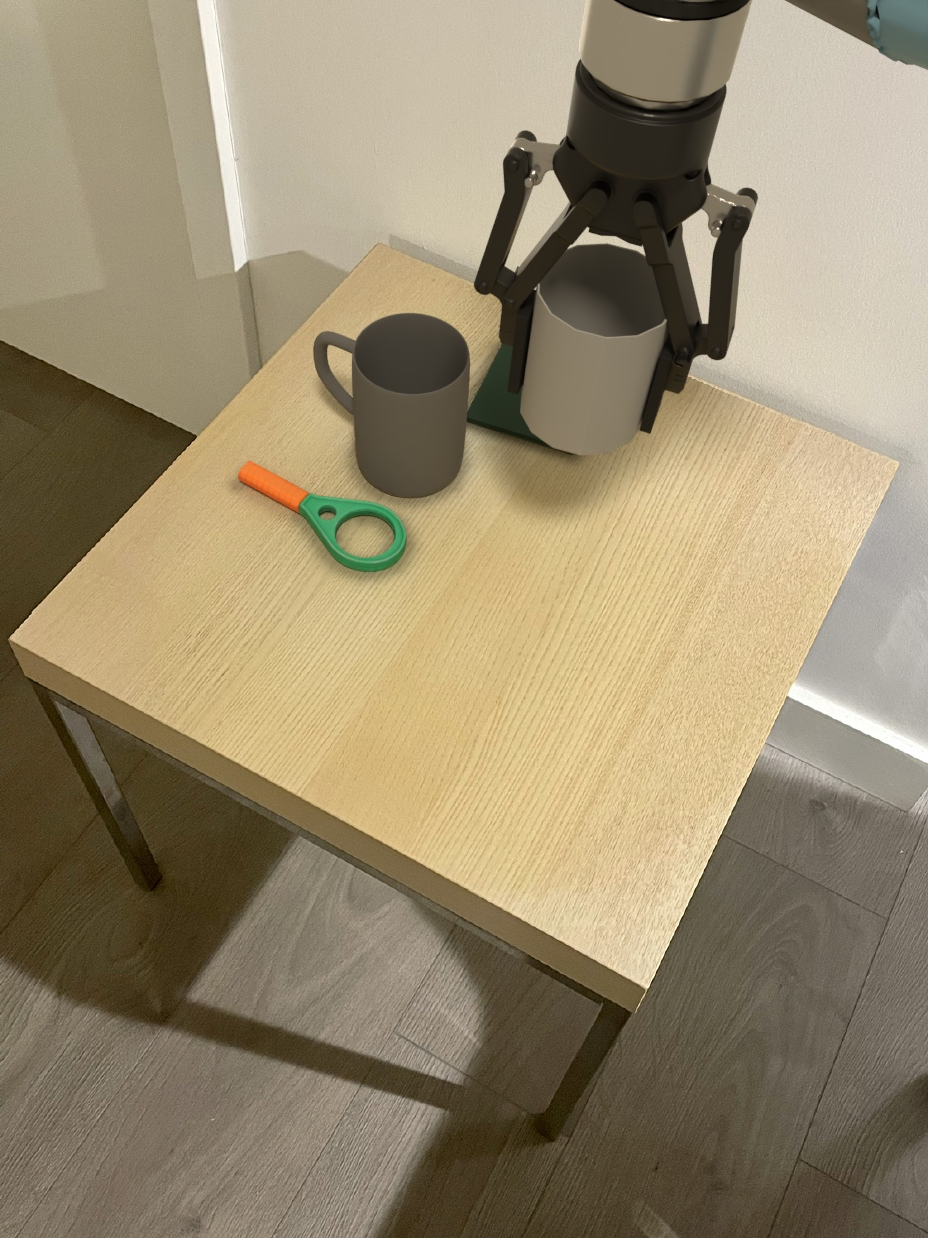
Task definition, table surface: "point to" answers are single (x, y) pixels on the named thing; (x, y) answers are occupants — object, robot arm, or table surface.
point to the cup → (593, 349)
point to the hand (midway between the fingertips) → (583, 398)
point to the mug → (404, 400)
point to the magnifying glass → (327, 529)
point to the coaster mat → (501, 402)
